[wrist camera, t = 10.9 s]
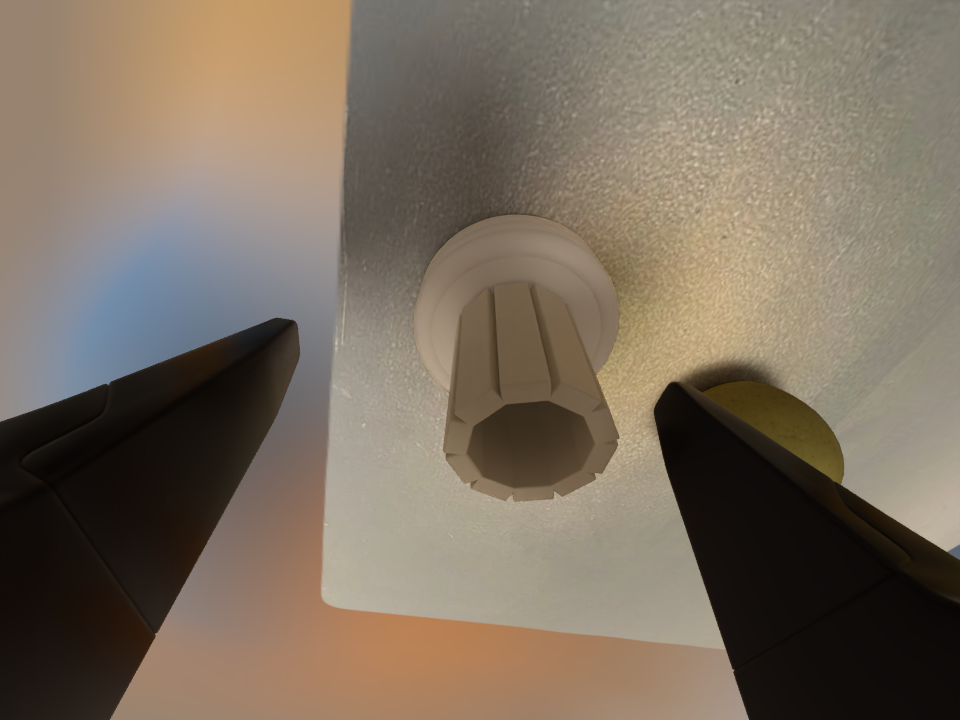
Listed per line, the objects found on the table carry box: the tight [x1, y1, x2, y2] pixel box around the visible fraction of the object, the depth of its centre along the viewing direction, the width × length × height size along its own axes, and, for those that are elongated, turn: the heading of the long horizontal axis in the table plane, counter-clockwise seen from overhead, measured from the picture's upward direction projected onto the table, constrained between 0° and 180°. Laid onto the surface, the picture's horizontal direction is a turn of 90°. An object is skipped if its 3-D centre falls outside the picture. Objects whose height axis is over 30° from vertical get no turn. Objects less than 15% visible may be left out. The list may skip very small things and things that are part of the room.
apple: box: [702, 381, 844, 485], centre depth 23 cm, size 8×8×7 cm
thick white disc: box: [413, 215, 619, 392], centre depth 20 cm, size 10×10×4 cm
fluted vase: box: [443, 282, 619, 502], centre depth 16 cm, size 6×6×7 cm
